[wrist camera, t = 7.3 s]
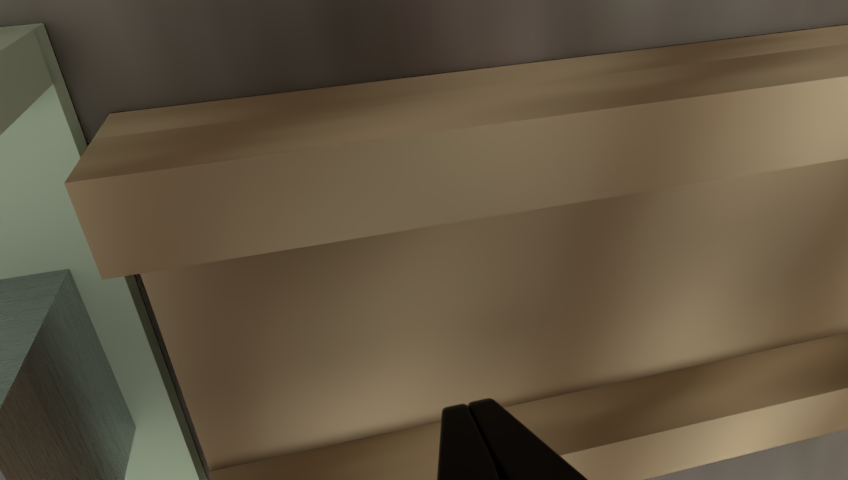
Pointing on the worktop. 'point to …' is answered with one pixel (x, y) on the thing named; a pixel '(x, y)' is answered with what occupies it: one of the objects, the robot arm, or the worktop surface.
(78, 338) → the grey cube
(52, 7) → the worktop surface
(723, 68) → the wooden tray
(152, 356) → the green tray
